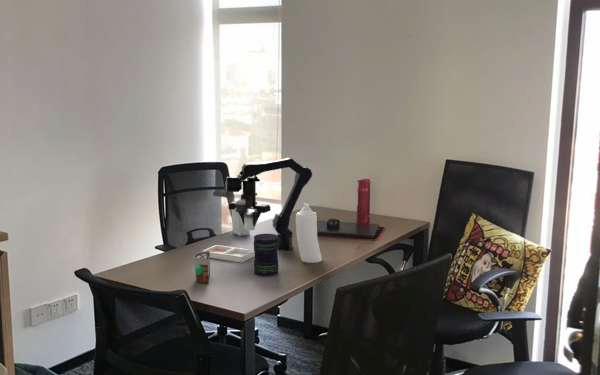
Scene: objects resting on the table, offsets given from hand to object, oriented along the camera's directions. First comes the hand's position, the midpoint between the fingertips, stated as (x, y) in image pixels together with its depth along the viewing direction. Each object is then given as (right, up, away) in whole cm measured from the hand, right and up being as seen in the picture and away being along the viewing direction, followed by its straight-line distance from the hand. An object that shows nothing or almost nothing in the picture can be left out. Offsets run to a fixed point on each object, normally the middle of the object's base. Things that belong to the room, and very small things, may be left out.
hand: (249, 225), depth 275 cm
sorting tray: (-8, -13, -7) cm, 17 cm away
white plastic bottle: (+26, -14, -12) cm, 33 cm away
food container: (-15, -19, -38) cm, 45 cm away
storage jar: (+9, -17, -29) cm, 35 cm away
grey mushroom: (0, -2, 0) cm, 2 cm away
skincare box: (-7, -6, +32) cm, 33 cm away
